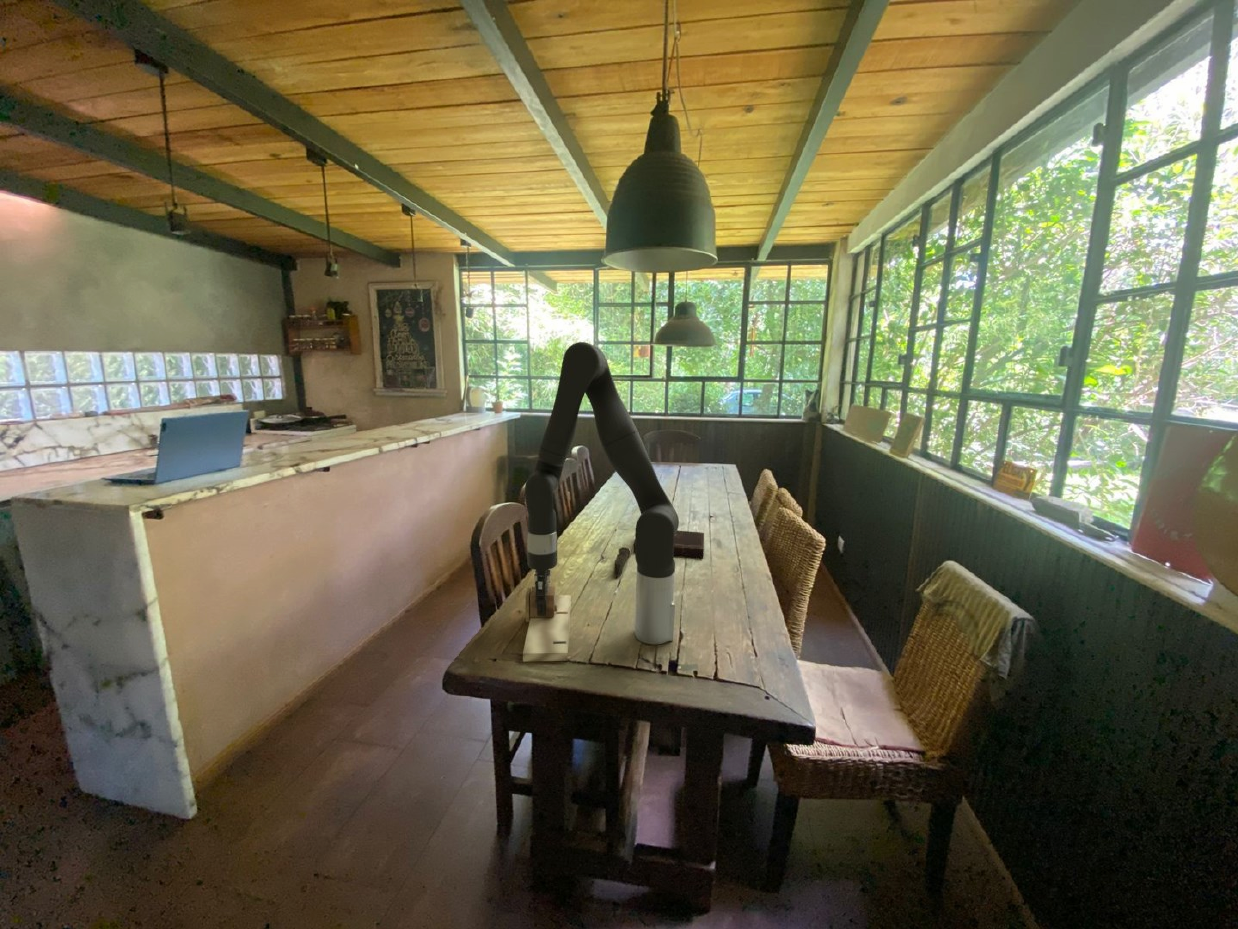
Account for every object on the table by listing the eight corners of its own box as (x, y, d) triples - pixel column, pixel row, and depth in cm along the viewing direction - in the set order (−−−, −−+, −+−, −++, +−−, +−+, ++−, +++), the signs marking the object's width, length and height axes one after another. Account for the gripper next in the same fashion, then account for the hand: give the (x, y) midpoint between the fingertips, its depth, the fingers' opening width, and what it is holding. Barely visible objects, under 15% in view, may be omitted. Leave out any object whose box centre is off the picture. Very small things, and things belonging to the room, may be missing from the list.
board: (570, 601, 136) (570, 594, 135) (567, 660, 108) (567, 651, 108) (535, 602, 135) (535, 595, 134) (522, 661, 107) (522, 652, 107)
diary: (703, 561, 169) (703, 548, 168) (633, 555, 173) (633, 542, 172) (703, 542, 187) (704, 530, 186) (640, 537, 191) (640, 525, 190)
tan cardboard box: (557, 612, 128) (557, 586, 126) (556, 621, 123) (556, 595, 121) (528, 612, 127) (527, 586, 126) (525, 622, 122) (525, 595, 121)
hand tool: (619, 557, 170) (619, 544, 169) (630, 558, 169) (630, 545, 168) (607, 579, 152) (607, 565, 151) (620, 580, 151) (620, 566, 150)
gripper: (555, 558, 115) (555, 622, 118) (558, 537, 129) (558, 595, 132) (524, 558, 114) (525, 622, 117) (530, 538, 128) (531, 595, 131)
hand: (542, 607), depth 125 cm, fingers open, 6 cm apart
